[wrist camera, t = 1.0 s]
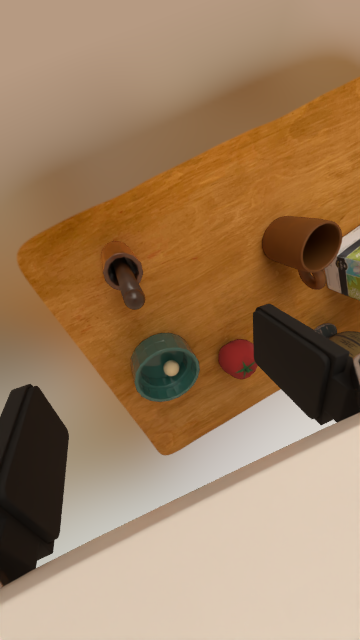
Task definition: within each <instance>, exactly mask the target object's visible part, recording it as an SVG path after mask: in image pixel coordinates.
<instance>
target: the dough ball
mask: <svg viewBox="0 0 360 640" xmlns="http://www.w3.org/2000/svg"><path fill="white" fill-rule="evenodd" d="M163 369H164V372H165V374H166V375H168V376H174V375H176V374H177V373H178V371H179V365H178V363H177V362H176V361H174V360H169V361H167V362H166V363H165V364H164V367H163Z"/></svg>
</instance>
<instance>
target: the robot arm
mask: <svg viewBox="0 0 360 640" xmlns="http://www.w3.org/2000/svg"><path fill="white" fill-rule="evenodd" d="M253 345H254V360H255V362H256V364H257V365H258V366H259V367H260V368H261V369H262V370H263V371H264V372H265V373H266V374H267V375H268V376H269V377H270V378H271V379H272V380H273V381H274V382H275V383H276V384H277V385H278V386H279V387H280V388H281V389H282V390H283V391H284V392H285V393H286V394H287V395H288V396H289V397H290V398H291V399H292V400H293V402H295V404H296V405H297V406H298V407H300V408H301V410H302V411H303V412H304V413H305V414H306V415H307V416H308V417H310V418H311V419H315V420H316V421H317V422H318V423H319V424H320V425H323V424H325V423H327V422H329V421H331V420H333V419H334V420H335V421H336V422H337V423H335V424H333V425H331V426H329V427H326V428H324V429H322V430H320V431H318V432H316V433H314V434H312V435H310V436H307V437H305V438H303V439H301V440H299V441H297V442H295V443H292V444H290V445H288V446H286V447H284V448H282V449H280V450H278V451H276V452H273V453H271V454H269V455H267V456H265V457H263V458H261V459H259V460H257V461H254V462H252V463H250V464H248V465H246V466H244V467H242V468H240V469H238V470H236V471H234V472H232V473H229V474H227V475H225V476H223V477H221V478H219V479H217V480H215V481H213V482H211V483H209V484H207V485H204V486H202V487H201V488H198V489H196V490H194V491H192V492H190V493H188V494H186V495H184V496H182V497H180V498H177V499H175V500H173V501H171V502H169V503H167V504H165V505H163V506H161V507H159V508H157V509H155V510H153V511H151V512H149V513H147V514H145V515H143V516H141V517H139V518H136V519H135V520H132V521H130V522H128V523H126V524H124V525H122V526H120V527H118V528H116V529H114V530H112V531H110V532H108V533H106V534H103V535H102V536H99V537H97V538H95V539H93V540H91V541H89V542H87V543H85V544H83V545H81V546H79V547H77V548H75V549H73V550H71V551H69V552H67V553H66V554H64V555H62V556H60V557H58V558H56V559H54V560H52V561H50V562H48V563H46V564H44V565H42V566H40V567H38V568H36V563H37V560H39V559H41V558H43V557H45V556H48V555H50V554H52V553H53V547H54V540H55V539H57V538H58V536H59V533H60V525H61V514H62V504H63V493H64V482H65V472H66V461H67V450H68V440H69V434H68V430H67V428H66V427H65V425H64V424H63V422H62V421H61V420H60V418H59V416H58V415H57V413H56V412H55V411H54V409H53V408H52V406H51V405H50V403H49V402H48V400H47V399H46V397H45V396H44V394H43V393H42V391H41V390H40V388H39V387H38V386H34V387H33V386H32V385H31V384H28V385H25V386H22V387H20V388H16V389H14V390H12V391H11V392H10V395H9V397H8V400H7V402H6V404H5V407H4V409H3V412H2V414H1V417H0V640H360V353H359V354H357V355H356V356H355V357H354V358H352V357H350V356H349V353H350V351H348V350H346V349H345V348H343V347H341V346H340V345H338V344H336V343H335V342H333V341H331V340H330V339H328V338H326V337H325V336H323V335H321V334H320V333H318V332H316V331H315V330H313V329H311V328H310V327H308V326H306V325H305V324H303V323H301V322H300V321H298V320H296V319H295V318H293V317H291V316H290V315H288V314H286V313H285V312H283V311H281V310H280V309H278V308H276V307H275V306H273V305H271V304H266V305H263V306H260V307H257V308H256V311H255V312H254V313H253Z"/></svg>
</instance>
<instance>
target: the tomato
mask: <svg viewBox="0 0 360 640" xmlns="http://www.w3.org/2000/svg"><path fill="white" fill-rule="evenodd" d="M219 364H220V366H221V367H222V369H223V370H224V371H225V372H226V373H228V374H230V375H231V376H233V377H235V378H238V379H245V378H248V377H250V376H251V375H252V374H253V373H254V372H255V370H256V368H257V366H258V365H257V364H256V362H255V360H254V345H253V344H252V343H251V342H249V341H247V340H242V339H237V340H234V341H230V342H229V343H228V344H226V345H224V346H223V347H222V348H221V349H220V352H219Z"/></svg>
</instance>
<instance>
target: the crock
mask: <svg viewBox="0 0 360 640" xmlns="http://www.w3.org/2000/svg"><path fill="white" fill-rule="evenodd" d="M122 257H124V258H125V259H126V261H127V263H128V265H129V267H130V269H131V271H132V273H133V274H134V276H135V278H136V280H137V282H138V284H139V283H140V281H141V278H142V275H143V270H142V265H141V263H140V261H139V260H138V259H137V257H136V256H135V255H134V253H133V252H132V251H131V249H130V248H129V247H128V246H127V245H126V244H125V243H123V242H120V241H111V242H109V243H107V244H106V245H105V246H104V247H103V249H102V252H101V261H102V269H103V274H104V277H105V280H106V282H107V283H108V284H109V285H110V286H111V287H112V288H113V289H117V290H120V286H119V283H118V280H117V276H116V273H115V270H114V267H113V263H112V262H113V261H114V260H115V259H117V258H122Z"/></svg>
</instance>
